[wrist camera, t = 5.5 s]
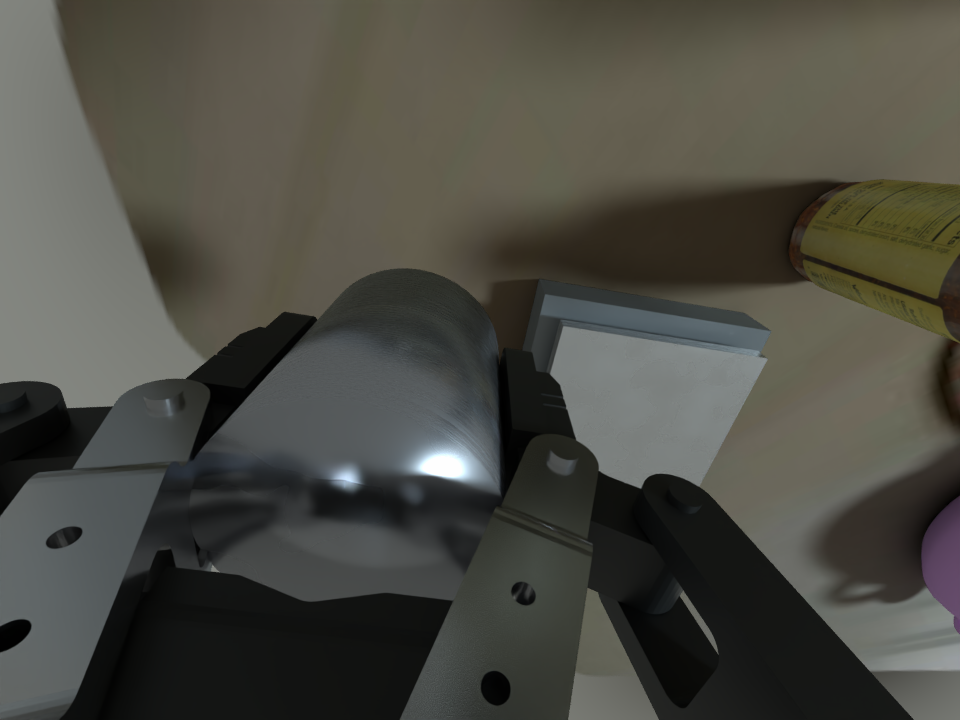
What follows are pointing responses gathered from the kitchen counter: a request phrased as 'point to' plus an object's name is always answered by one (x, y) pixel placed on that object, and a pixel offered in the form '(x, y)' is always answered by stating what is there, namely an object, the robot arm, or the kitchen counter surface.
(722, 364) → the pan
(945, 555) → the teapot
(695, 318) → the scale
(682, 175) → the kitchen counter surface
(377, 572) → the cylinder
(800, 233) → the sauce bottle
